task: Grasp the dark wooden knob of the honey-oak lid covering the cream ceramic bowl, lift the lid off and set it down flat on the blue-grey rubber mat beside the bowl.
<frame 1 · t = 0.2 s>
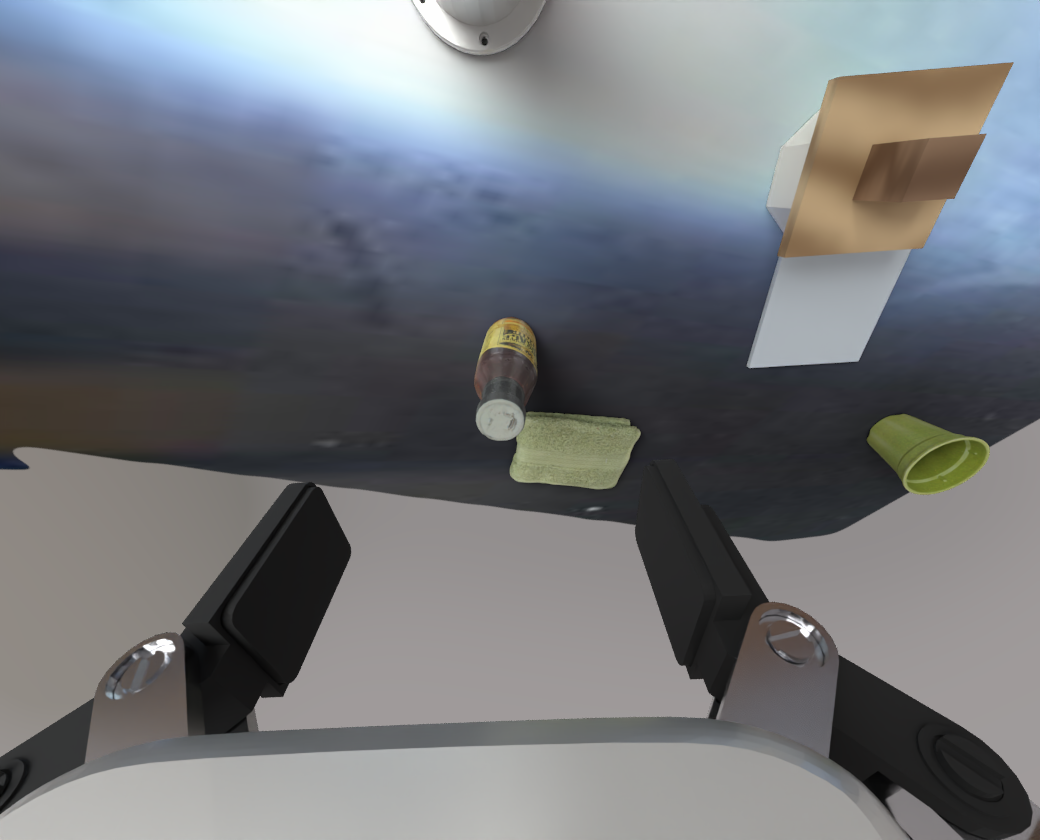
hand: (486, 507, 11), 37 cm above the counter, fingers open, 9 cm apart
sauce bottle: (509, 337, 46), on the counter
washcloth: (570, 445, 56), on the counter
bowl: (833, 173, 37), on the counter
lid: (874, 171, 33), point 5 cm above the counter, touching bowl
mat: (820, 309, 44), on the counter
plant pot: (887, 429, 54), on the counter
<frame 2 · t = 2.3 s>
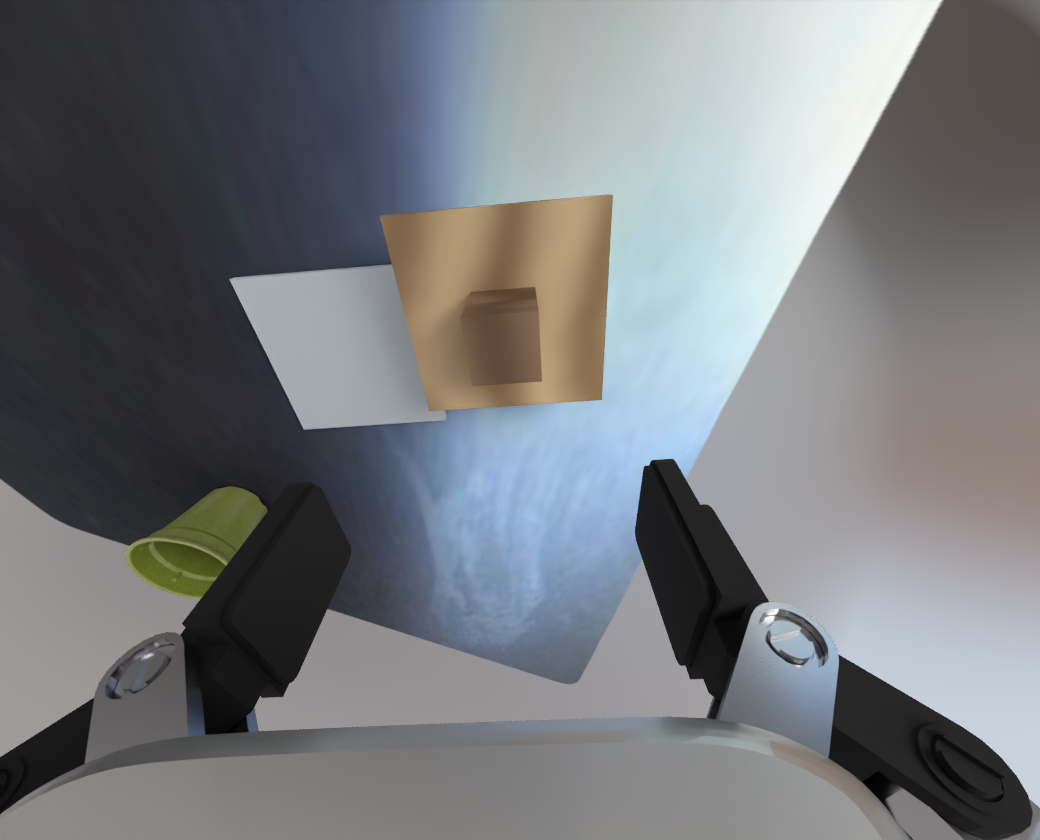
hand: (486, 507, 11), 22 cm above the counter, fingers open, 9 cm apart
lid: (506, 315, 25), point 5 cm above the counter, touching bowl
mat: (352, 354, 32), on the counter
plant pot: (241, 502, 42), on the counter
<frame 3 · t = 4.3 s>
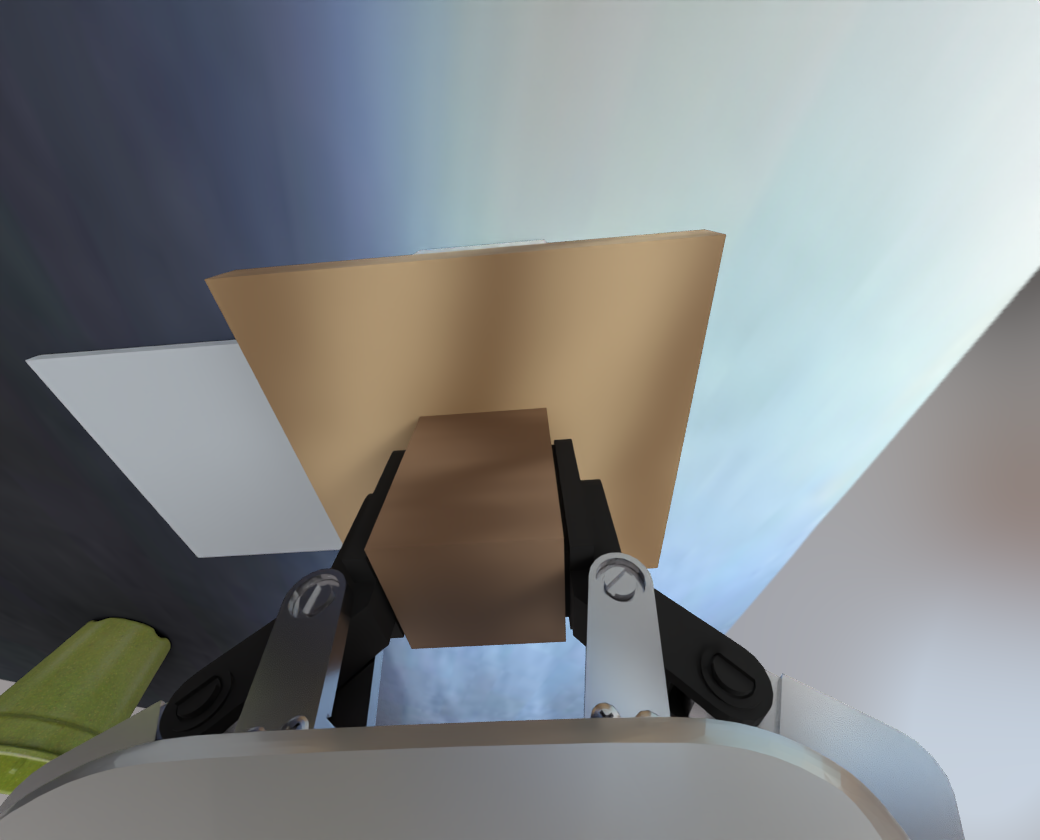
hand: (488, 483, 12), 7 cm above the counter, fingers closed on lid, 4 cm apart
bowl: (498, 380, 18), on the counter
lid: (492, 440, 14), point 5 cm above the counter, touching bowl, gripper
mat: (257, 462, 20), on the counter
plant pot: (133, 632, 30), on the counter
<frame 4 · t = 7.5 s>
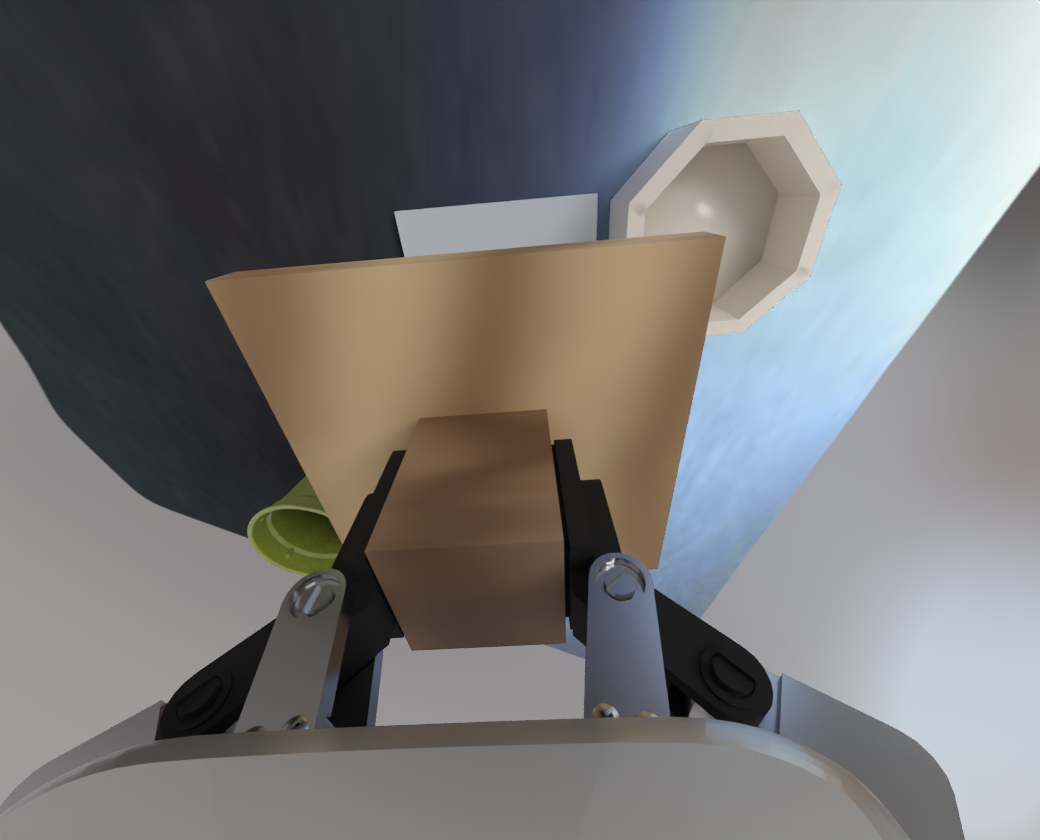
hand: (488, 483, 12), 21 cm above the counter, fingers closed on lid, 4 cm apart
bowl: (691, 232, 26), on the counter
lid: (492, 442, 14), point 19 cm above the counter, touching gripper
mat: (505, 303, 29), on the counter
plant pot: (345, 476, 39), on the counter
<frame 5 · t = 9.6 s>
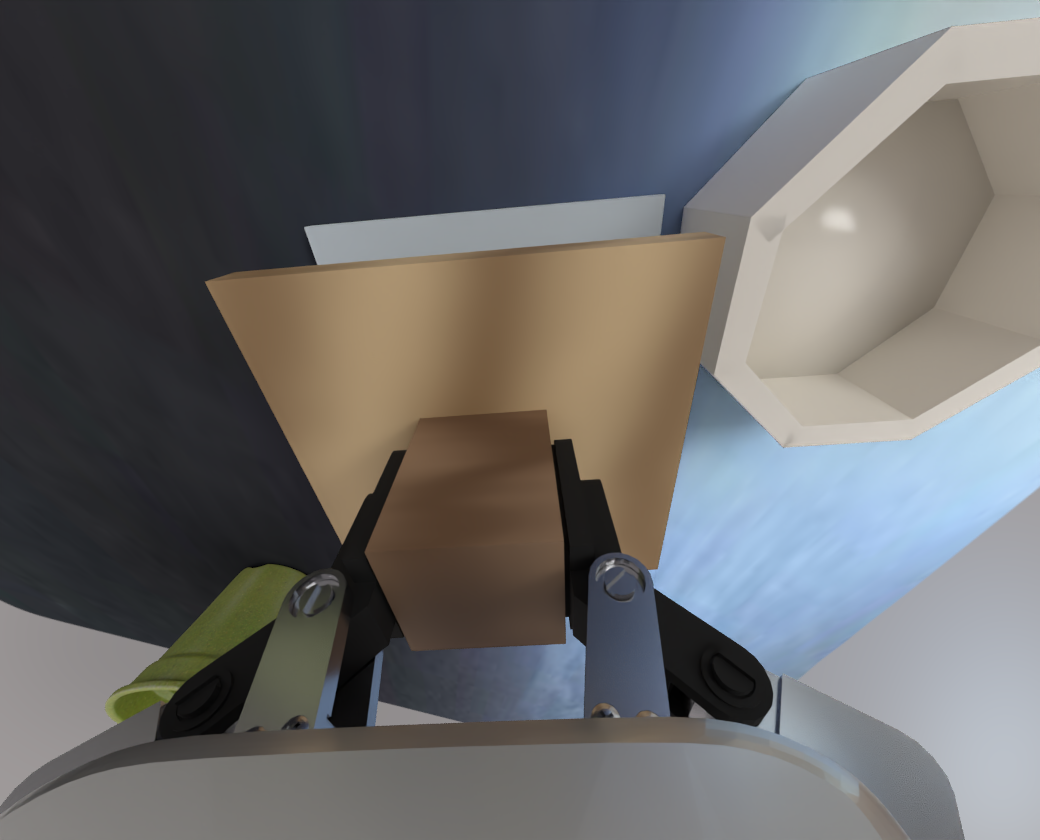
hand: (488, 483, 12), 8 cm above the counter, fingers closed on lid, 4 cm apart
bowl: (816, 261, 16), on the counter
lid: (492, 442, 14), point 6 cm above the counter, touching gripper
mat: (500, 369, 18), on the counter
plant pot: (282, 583, 29), on the counter
when the fingers open (4 cm above the counter, at t = 11.2 s): lid drops 2 cm, resting on mat.
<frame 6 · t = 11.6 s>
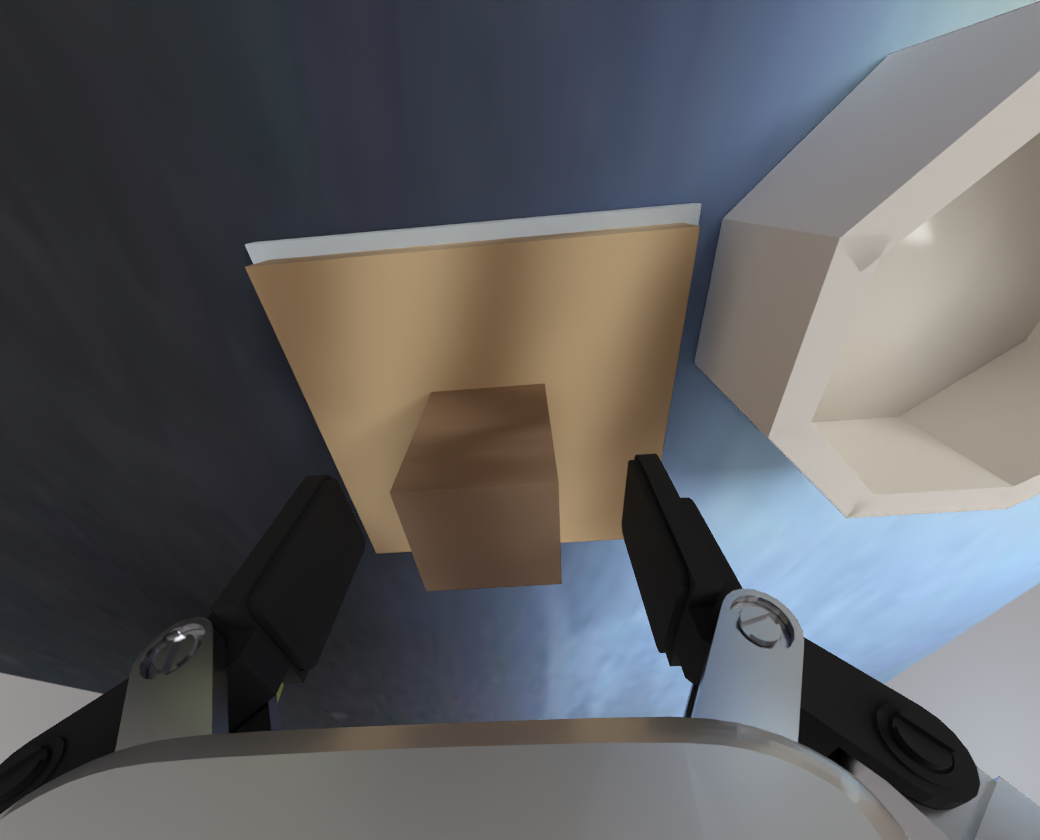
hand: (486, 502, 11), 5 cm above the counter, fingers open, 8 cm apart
bowl: (881, 284, 13), on the counter
lid: (495, 417, 15), point 1 cm above the counter, touching mat
mat: (495, 410, 15), on the counter
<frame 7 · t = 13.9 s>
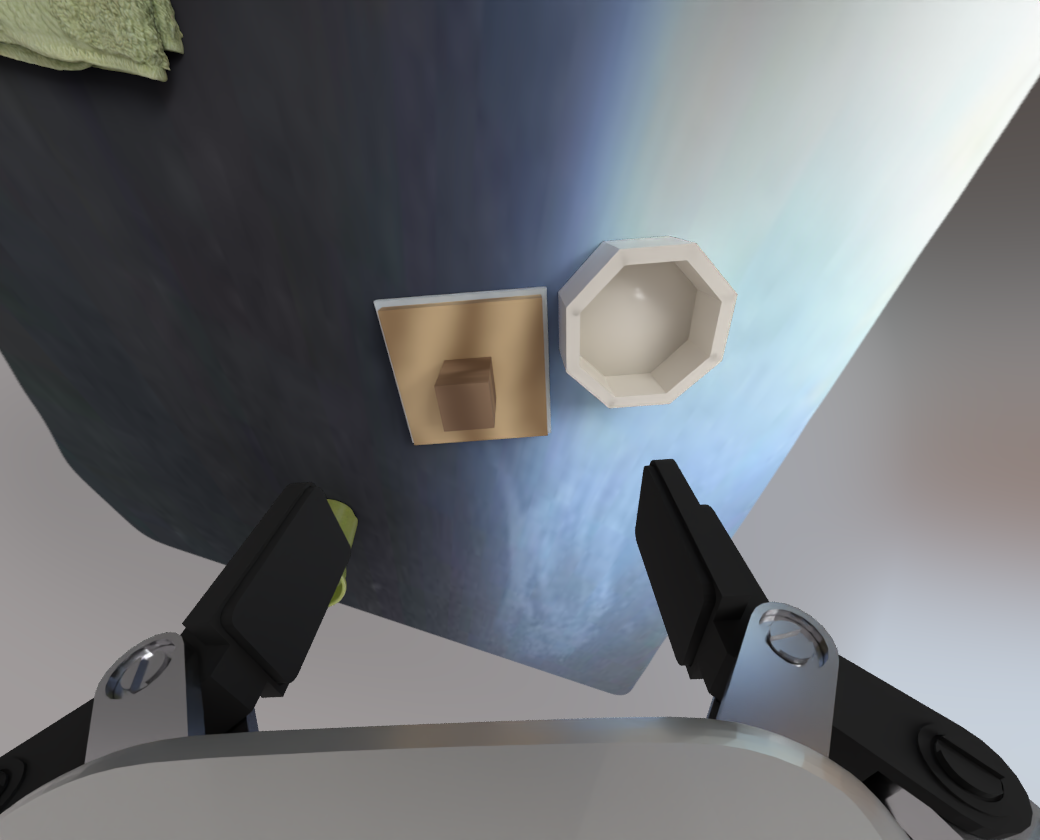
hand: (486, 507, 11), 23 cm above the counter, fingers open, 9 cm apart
bowl: (628, 316, 31), on the counter
lid: (472, 373, 33), point 1 cm above the counter, touching mat
mat: (472, 371, 33), on the counter
plant pot: (332, 515, 43), on the counter
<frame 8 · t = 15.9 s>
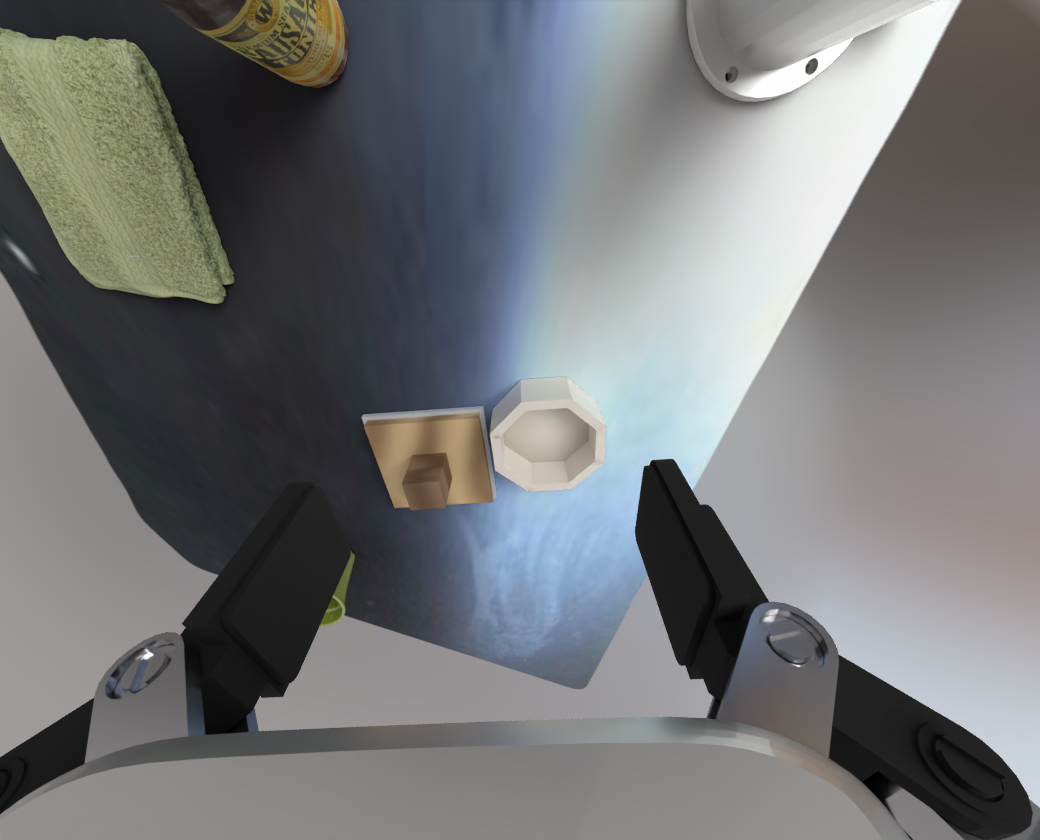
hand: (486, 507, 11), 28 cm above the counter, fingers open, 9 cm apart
sauce bottle: (310, 30, 25), on the counter
washcloth: (134, 185, 31), on the counter
bowl: (545, 423, 43), on the counter
lid: (434, 460, 45), point 1 cm above the counter, touching mat
mat: (435, 457, 46), on the counter
plant pot: (335, 551, 56), on the counter
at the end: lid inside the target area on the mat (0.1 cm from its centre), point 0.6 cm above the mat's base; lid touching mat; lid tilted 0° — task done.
